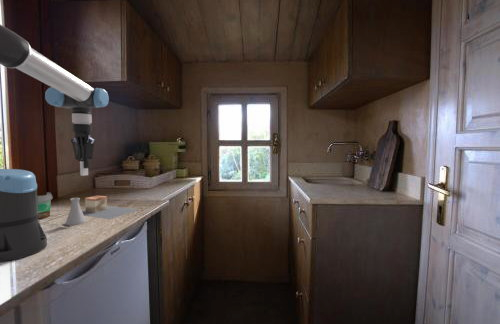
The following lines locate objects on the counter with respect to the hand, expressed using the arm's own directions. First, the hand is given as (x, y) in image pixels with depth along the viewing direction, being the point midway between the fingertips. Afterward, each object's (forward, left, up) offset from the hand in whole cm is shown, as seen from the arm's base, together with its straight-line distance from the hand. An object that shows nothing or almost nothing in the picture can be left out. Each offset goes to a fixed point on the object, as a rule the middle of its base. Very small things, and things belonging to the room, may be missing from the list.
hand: (84, 175), depth 118 cm
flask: (-16, -16, -17) cm, 28 cm away
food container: (-17, +3, -17) cm, 24 cm away
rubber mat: (0, -13, -16) cm, 21 cm away
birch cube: (0, -7, -16) cm, 17 cm away
